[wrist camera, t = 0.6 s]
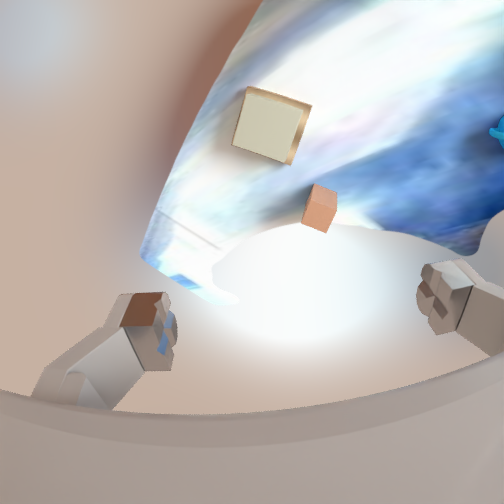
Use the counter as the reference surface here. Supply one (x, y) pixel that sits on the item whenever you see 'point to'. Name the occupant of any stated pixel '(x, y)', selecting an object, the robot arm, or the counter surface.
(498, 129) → the mug
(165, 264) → the counter surface
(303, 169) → the counter surface
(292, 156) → the tower base
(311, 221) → the tall block
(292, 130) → the tower top
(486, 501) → the robot arm
